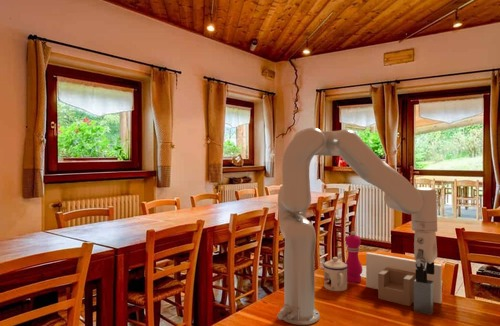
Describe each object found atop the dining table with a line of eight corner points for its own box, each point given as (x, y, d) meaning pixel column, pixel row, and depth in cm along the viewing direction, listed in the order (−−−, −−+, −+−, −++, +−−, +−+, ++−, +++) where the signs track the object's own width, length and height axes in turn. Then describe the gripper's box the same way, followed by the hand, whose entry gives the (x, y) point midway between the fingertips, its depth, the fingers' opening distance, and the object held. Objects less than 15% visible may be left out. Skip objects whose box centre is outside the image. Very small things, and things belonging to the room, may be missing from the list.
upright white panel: (434, 312, 118) (434, 272, 118) (357, 293, 135) (357, 258, 134) (441, 301, 127) (441, 264, 126) (368, 285, 143) (368, 252, 143)
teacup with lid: (320, 283, 145) (320, 254, 144) (342, 282, 146) (342, 253, 145) (330, 295, 133) (330, 263, 133) (354, 294, 134) (354, 262, 134)
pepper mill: (363, 283, 145) (363, 233, 144) (344, 282, 146) (344, 232, 145) (361, 277, 152) (361, 229, 151) (343, 276, 153) (343, 229, 153)
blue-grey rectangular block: (430, 315, 116) (430, 284, 116) (413, 311, 119) (413, 280, 119) (433, 311, 119) (433, 281, 119) (416, 307, 122) (416, 277, 122)
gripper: (430, 232, 109) (431, 288, 110) (442, 222, 123) (443, 272, 123) (404, 229, 114) (405, 283, 114) (419, 220, 127) (420, 268, 128)
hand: (425, 277), depth 119 cm, fingers open, 9 cm apart
